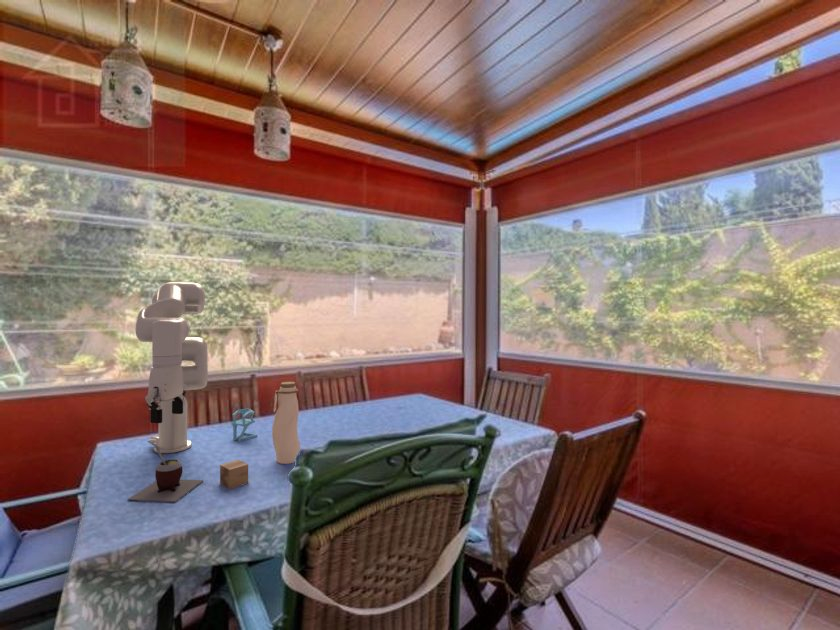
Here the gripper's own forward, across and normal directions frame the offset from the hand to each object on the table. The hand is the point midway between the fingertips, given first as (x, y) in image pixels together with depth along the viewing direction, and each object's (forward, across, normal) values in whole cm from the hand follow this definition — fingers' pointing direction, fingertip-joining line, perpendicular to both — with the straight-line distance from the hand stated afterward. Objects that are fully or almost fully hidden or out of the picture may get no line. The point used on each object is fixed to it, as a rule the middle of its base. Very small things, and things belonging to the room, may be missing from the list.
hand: (167, 418), depth 126 cm
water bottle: (+22, -27, +26) cm, 44 cm away
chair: (+22, -49, 0) cm, 54 cm away
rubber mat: (+22, 0, 0) cm, 22 cm away
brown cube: (+22, -7, +17) cm, 29 cm away
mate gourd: (+22, 0, 0) cm, 22 cm away
